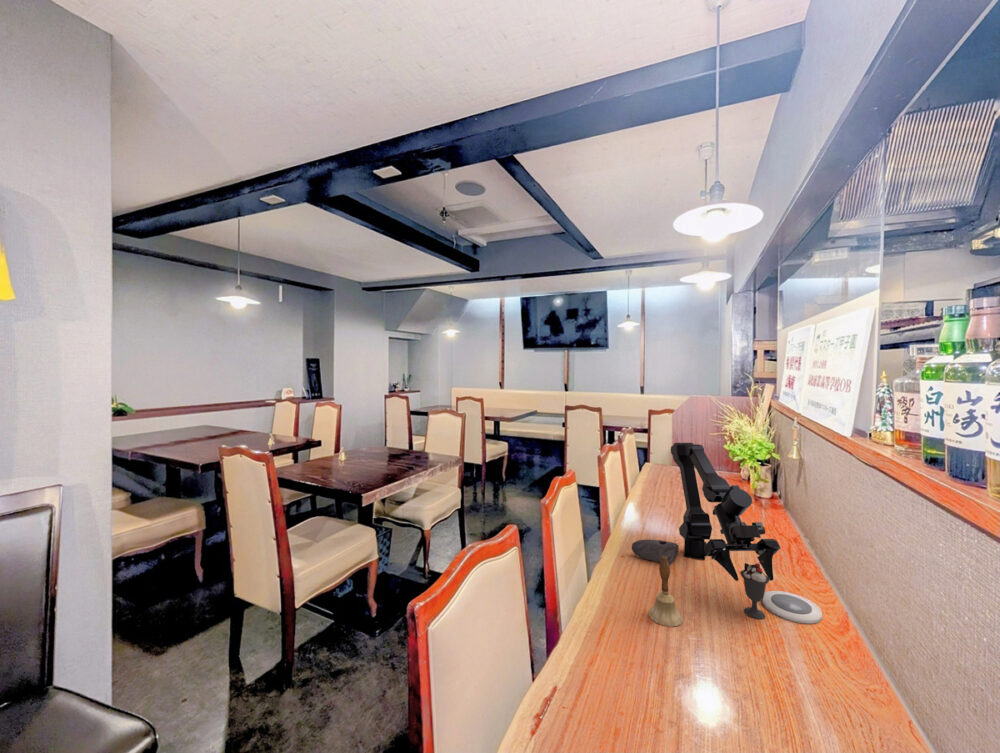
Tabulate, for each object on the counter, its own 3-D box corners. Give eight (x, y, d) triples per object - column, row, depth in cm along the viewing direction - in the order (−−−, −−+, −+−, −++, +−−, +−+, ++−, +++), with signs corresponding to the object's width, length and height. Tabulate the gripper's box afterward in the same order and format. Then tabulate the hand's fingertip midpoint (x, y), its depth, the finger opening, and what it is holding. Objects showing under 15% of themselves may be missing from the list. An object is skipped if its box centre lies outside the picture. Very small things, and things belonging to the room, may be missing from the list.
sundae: (770, 624, 102) (770, 566, 101) (739, 616, 105) (739, 559, 105) (769, 611, 107) (769, 555, 107) (740, 603, 111) (740, 549, 111)
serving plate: (765, 615, 106) (765, 609, 106) (759, 590, 117) (759, 585, 117) (827, 629, 100) (827, 623, 100) (815, 602, 111) (815, 597, 111)
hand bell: (667, 631, 100) (667, 567, 99) (641, 613, 107) (641, 553, 107) (689, 621, 103) (690, 559, 103) (663, 604, 111) (663, 547, 110)
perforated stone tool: (630, 558, 138) (630, 538, 138) (633, 552, 142) (633, 532, 142) (677, 568, 131) (677, 547, 130) (679, 561, 135) (679, 541, 135)
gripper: (708, 510, 111) (731, 569, 101) (776, 510, 111) (806, 569, 100) (695, 527, 119) (715, 584, 108) (757, 527, 119) (784, 583, 108)
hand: (754, 580), depth 106 cm, fingers open, 9 cm apart
